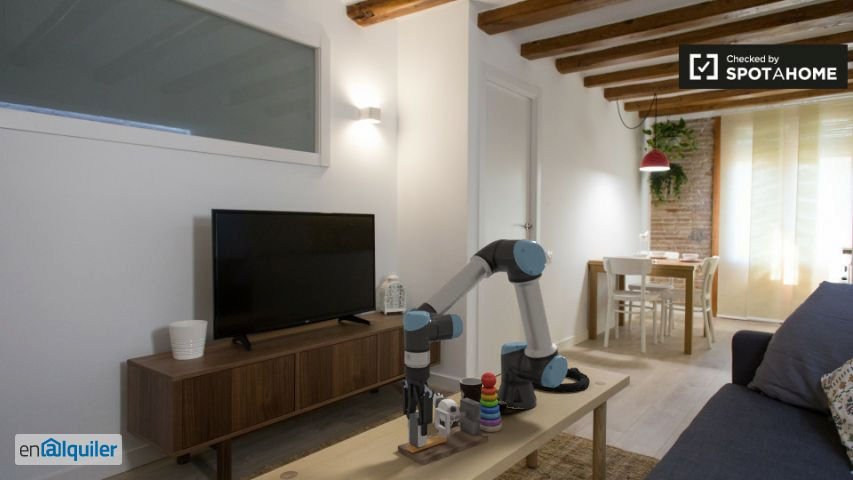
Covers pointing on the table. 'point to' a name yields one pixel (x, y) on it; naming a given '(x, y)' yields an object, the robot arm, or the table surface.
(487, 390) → the stacking toy
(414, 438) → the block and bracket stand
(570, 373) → the cable lock
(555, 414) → the table surface
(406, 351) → the robot arm
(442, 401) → the giant panda
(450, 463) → the table surface
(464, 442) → the board
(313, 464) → the table surface
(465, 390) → the coffee mug
